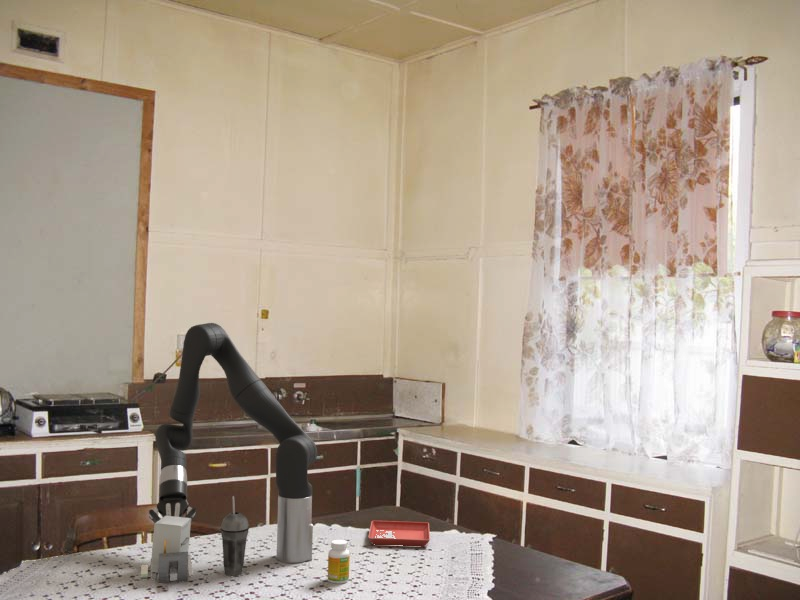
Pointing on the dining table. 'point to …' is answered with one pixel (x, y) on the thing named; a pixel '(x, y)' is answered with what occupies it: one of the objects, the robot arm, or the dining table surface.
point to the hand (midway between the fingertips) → (172, 542)
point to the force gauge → (163, 567)
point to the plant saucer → (400, 533)
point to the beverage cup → (234, 542)
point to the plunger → (172, 566)
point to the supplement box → (170, 537)
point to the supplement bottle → (338, 562)
